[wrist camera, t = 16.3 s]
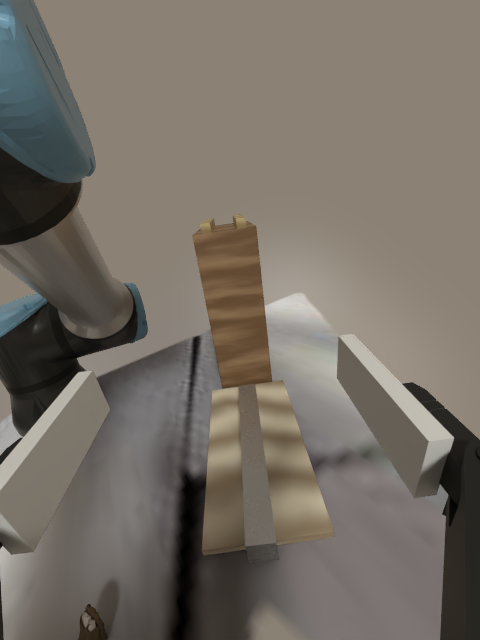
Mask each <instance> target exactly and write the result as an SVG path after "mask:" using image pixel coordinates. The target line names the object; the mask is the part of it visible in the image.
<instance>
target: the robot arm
mask: <svg viewBox="0 0 480 640" xmlns="http://www.w3.org/2000/svg"><path fill="white" fill-rule="evenodd" d="M95 167H96V163H95V156H94V152H93V148H92V144H91V141H90V138H89V136H88V133H87V129H86V126H85V123H84V120H83V118H82V115H81V112H80V110H79V107H78V105H77V102H76V100H75V98H74V96H73V93H72V90H71V88H70V86H69V83H68V81H67V79H66V77H65V73H64V70H63V67H62V64H61V62H60V59H59V57H58V55H57V52H56V50H55V48H54V45H53V43H52V41H51V38H50V36H49V34H48V32H47V29H46V27H45V25H44V22H43V20H42V18H41V16H40V14H39V11H38V9H37V7H36V5H35V3H34V1H33V0H0V264H1V265H2V266H4V267H5V268H6V269H7V270H9V271H10V272H11V273H13V274H14V275H15V276H17V277H18V278H19V279H20V280H21V281H23V282H24V283H26V284H27V285H28V286H29V287H30V288H32V289H33V290H35V292H37V293H38V294H33V295H30V296H26V297H23V298H20V299H17V300H14V301H12V302H9V303H7V304H4V305H1V306H0V380H1V381H2V383H3V384H4V386H5V387H6V389H7V391H8V392H9V394H10V399H11V409H12V419H13V424H14V426H15V428H16V429H17V431H18V433H19V434H20V435H21V436H23V438H20V439H18V440H17V441H16V442H15V443H13V444H12V445H11V446H10V447H8V448H7V449H6V450H5V451H4V452H3V453H2V454H1V456H0V548H1V547H2V545H3V546H4V547H5V548H6V550H7V551H8V552H9V553H10V554H11V555H13V554H20V553H27V552H34V550H35V548H36V546H37V544H38V543H39V541H40V539H41V537H42V535H43V533H44V531H45V530H46V528H47V526H48V524H49V522H50V520H51V518H52V517H53V515H54V513H55V511H56V509H57V507H58V505H59V504H60V502H61V500H62V498H63V496H64V494H65V492H66V491H67V489H68V487H69V485H70V483H71V481H72V480H73V478H74V476H75V474H76V472H77V470H78V468H79V467H80V465H81V463H82V461H83V459H84V457H85V455H86V454H87V452H88V450H89V448H90V446H91V444H92V442H93V441H94V439H95V437H96V435H97V433H98V431H99V429H100V428H101V426H102V424H103V422H104V420H105V418H106V416H107V415H108V413H109V411H110V408H109V406H108V403H107V401H106V399H105V397H104V394H103V392H102V390H101V388H100V385H99V383H98V381H97V379H96V377H95V374H94V372H93V371H92V370H91V371H86V370H85V369H84V368H83V367H81V366H80V365H79V363H78V360H77V358H78V357H81V356H85V355H88V354H92V353H95V352H99V351H102V350H106V349H110V348H113V347H117V346H120V345H124V344H127V343H133V342H135V341H137V340H139V339H142V338H144V337H145V336H146V335H147V332H148V327H147V321H146V315H145V310H144V306H143V303H142V299H141V296H140V293H139V291H138V288H137V287H136V285H134V284H132V283H128V284H127V283H121V282H120V281H119V280H117V279H115V278H113V277H112V276H111V274H110V272H109V270H108V268H107V266H106V264H105V262H104V260H103V258H102V256H101V254H100V252H99V250H98V248H97V246H96V244H95V242H94V240H93V238H92V236H91V234H90V232H89V230H88V228H87V226H86V224H85V222H84V220H83V218H82V216H81V214H80V212H79V210H78V208H77V205H78V203H79V200H80V198H81V194H82V185H83V183H82V179H83V178H84V177H85V176H91V175H92V173H93V172H94V171H95ZM337 379H338V380H339V382H340V383H341V385H342V387H343V388H344V390H345V391H346V393H347V394H348V396H349V397H350V399H351V401H352V402H353V404H354V405H355V407H356V408H357V410H358V411H359V413H360V415H361V416H362V418H363V419H364V421H365V422H366V424H367V425H368V427H369V429H370V430H371V432H372V433H373V435H374V436H375V438H376V439H377V441H378V443H379V444H380V446H381V447H382V449H383V450H384V452H385V453H386V455H387V456H388V458H389V460H390V461H391V463H392V464H393V466H394V467H395V469H396V470H397V472H398V474H399V475H400V477H401V478H402V480H403V481H404V483H405V484H406V486H407V488H408V489H409V491H410V492H411V494H412V495H413V497H414V498H418V497H425V496H432V495H436V494H437V491H438V488H439V485H440V484H441V486H442V487H443V488H444V489H445V491H446V492H447V493H448V495H449V496H448V499H447V502H446V505H445V507H444V510H443V513H442V514H443V515H445V516H446V530H445V551H444V572H443V593H442V614H441V635H440V640H480V440H479V439H478V438H477V437H476V436H475V435H474V434H473V433H472V432H470V431H469V430H468V429H467V428H466V427H465V426H464V425H463V424H462V423H461V422H460V421H459V420H458V419H457V418H455V417H454V416H453V415H452V414H451V413H450V412H449V411H448V410H447V409H445V408H444V406H443V405H442V404H440V403H439V402H438V401H436V399H435V398H434V397H433V396H432V395H431V394H430V393H429V392H428V391H427V390H425V389H423V388H422V387H420V386H418V385H416V384H414V383H405V384H401V383H400V382H399V381H398V380H397V379H396V378H395V377H394V376H393V375H392V374H391V373H390V371H389V370H388V369H387V368H386V367H385V366H384V365H383V364H382V363H381V362H380V361H379V360H378V359H377V358H376V357H375V356H374V355H373V354H372V353H371V352H370V351H369V350H368V349H367V348H366V347H365V346H364V345H363V344H362V343H361V342H360V341H359V340H358V339H357V338H356V337H355V336H354V335H353V334H349V335H342V336H339V340H338V364H337ZM0 640H4V638H3V619H2V601H1V582H0Z"/></svg>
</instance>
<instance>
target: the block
mask: <svg viewBox="0 0 480 640" xmlns="http://www.w3.org/2000/svg"><path fill="white" fill-rule="evenodd" d="M239 408H240V432H241V457H242V482H243V507H244V532H245V548H246V553H247V557H248V562H249V563H255V562H264V561H273V560H279V557H278V549H277V542H276V535H275V527H274V520H273V512H272V505H271V497H270V490H269V482H268V475H267V467H266V460H265V453H264V445H263V438H262V430H261V423H260V415H259V408H258V400H257V393H256V386H255V384H249V385H241V386H239Z"/></svg>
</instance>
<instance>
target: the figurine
mask: <svg viewBox="0 0 480 640" xmlns="http://www.w3.org/2000/svg"><path fill="white" fill-rule="evenodd" d="M107 639H108V637H107V634H106V633H105V629H104V623H103V622H102V620H101V619H100V617H99V614H98V612H96V609H95V608H94V607H91V605H90V604H88V605H87V607H86V609H85V611H84V613H83V614H82V615H81V618H80V636H79V639H78V640H107Z"/></svg>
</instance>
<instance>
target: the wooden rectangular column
mask: <svg viewBox="0 0 480 640" xmlns="http://www.w3.org/2000/svg"><path fill="white" fill-rule="evenodd" d="M233 220H234V223H232V224H225V225H218V226H215V223H214V219H207V220H205V221H204V222H202V223H201V224H200V226H201V228H200V229H199V230H198V231H197V232H196V233H195V234H194V235H193V241H194V246H195V251H196V256H197V261H198V266H199V271H200V276H201V281H202V286H203V291H204V296H205V301H206V306H207V311H208V316H209V321H210V326H211V331H212V336H213V341H214V346H215V351H216V356H217V361H218V366H219V372H220V377H221V382H222V387H223V389H226V388H232V387H239V386H241V385H249V384H260V383H267V382H272V375H271V366H270V356H269V346H268V336H267V327H266V317H265V307H264V297H263V288H262V279H261V268H260V258H259V249H258V239H257V230H256V226H255V225H253V224H252V223H250V222H248V221H246V218H245V217H244V216H242V215H234V216H233Z"/></svg>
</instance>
